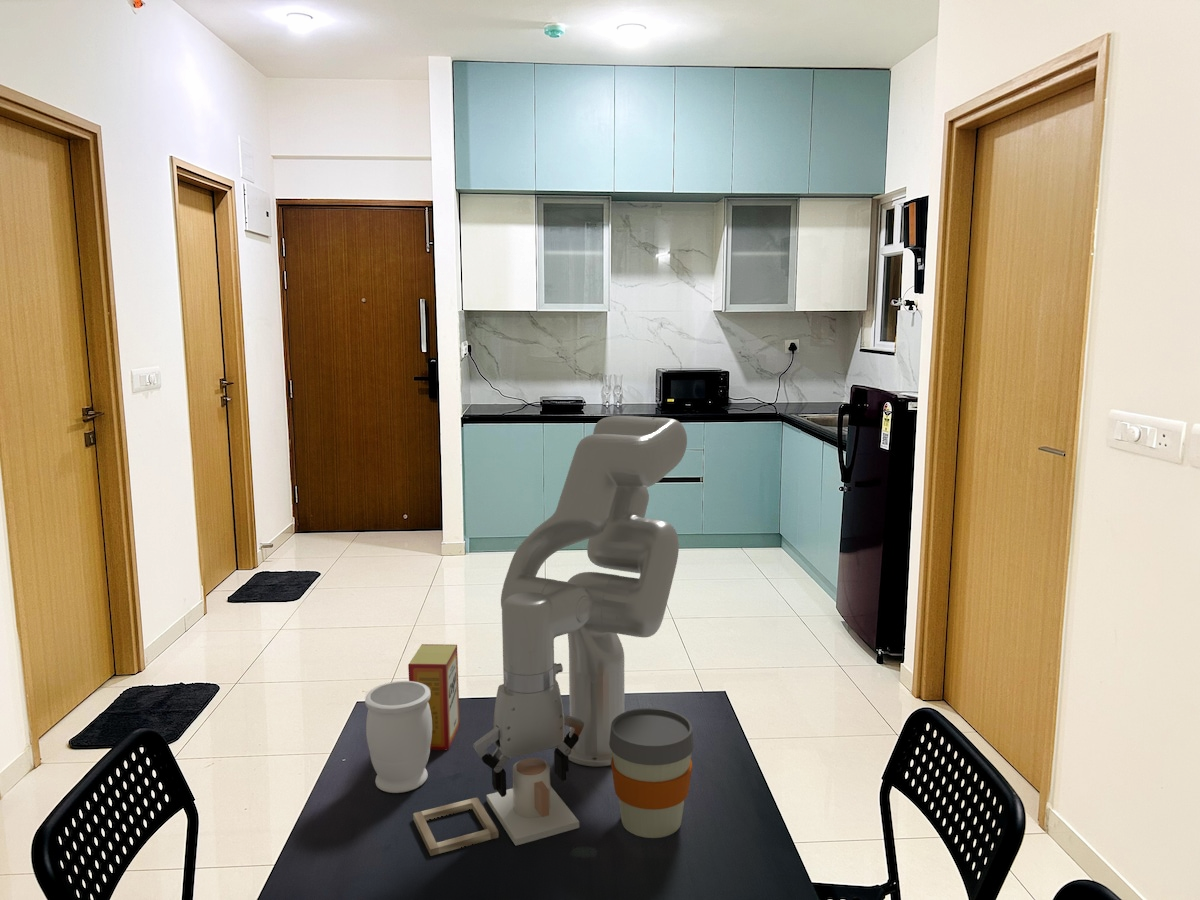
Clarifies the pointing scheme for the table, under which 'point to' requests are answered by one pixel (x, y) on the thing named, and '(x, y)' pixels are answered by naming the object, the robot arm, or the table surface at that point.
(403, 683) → the jar
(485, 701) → the table surface
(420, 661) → the baking soda box
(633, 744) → the reusable coffee cup
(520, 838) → the mat
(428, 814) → the wooden square frame
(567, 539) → the robot arm
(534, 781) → the cylinder with brown end
